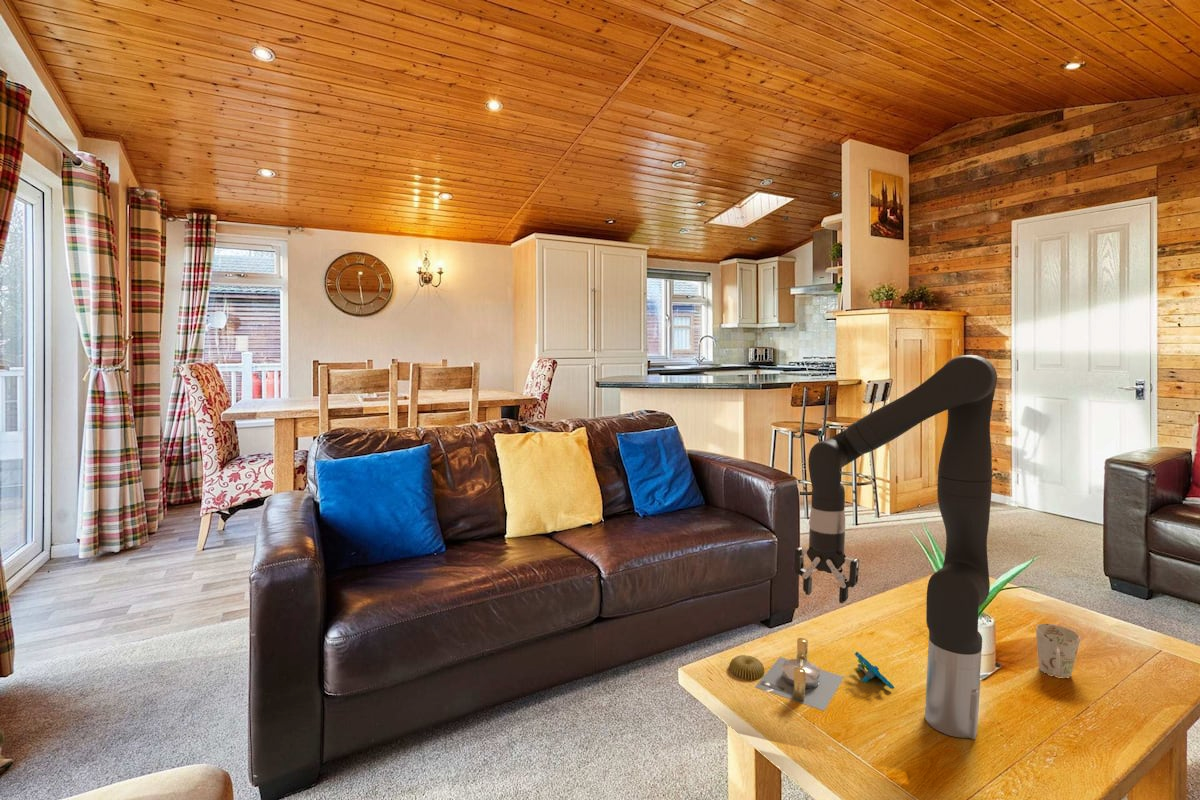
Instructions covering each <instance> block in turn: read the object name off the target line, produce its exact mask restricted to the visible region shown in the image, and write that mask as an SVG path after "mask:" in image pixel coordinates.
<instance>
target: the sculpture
mask: <svg viewBox="0 0 1200 800" xmlns="http://www.w3.org/2000/svg"><path fill="white" fill-rule="evenodd" d="M728 667H729V668H728V669H729V672H730V673H731V674H732V675H734V676H735V677H736V678H737V677H738V678H739V679H742V680H743V679H744V680H748V681H749V680H751V681H752V680H755V681H756V680H759V679H761V678H763V677H764V676H765V667H764V664H763V663H762V661H760V660H759V659H758V658H756V657H755V656H751V655H747V654H746V655H745V654H744V655H743V654H742V655H738V656H737V655H736V656H735V657H733V658H732V659H731V661H730V662H729V665H728Z"/></svg>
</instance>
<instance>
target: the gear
mask: <svg viewBox="0 0 1200 800" xmlns="http://www.w3.org/2000/svg"><path fill="white" fill-rule="evenodd" d="M854 656H855V657H856V658H857V662H858V664H857V668H856V671H858V672H860V671H862V672H864V674H865V676H864V677H863V678H862V679H861V680H860V681H861V682H863V683H868V682H869V681H870V680H872V679H873V678H874V677H877V678H878V679H879V680H881V682H883V683H884V684H885V685H886V686H887V687H888V688H890V689H893V688H895V686H894V685H893V684H892V683H891V681H889V680H888V679H887V678H886V677H885V676H884V675H883V674H882V673H881V672H880V671H879V669H880V668H879V667H878V666H876V665H873V664H871V663H870V662H869V660H867V659H866V658H865V657H863V655H862V654H860V653H859V652H858V651H855V653H854ZM865 669H866V670H867V671H866V670H865Z"/></svg>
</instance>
